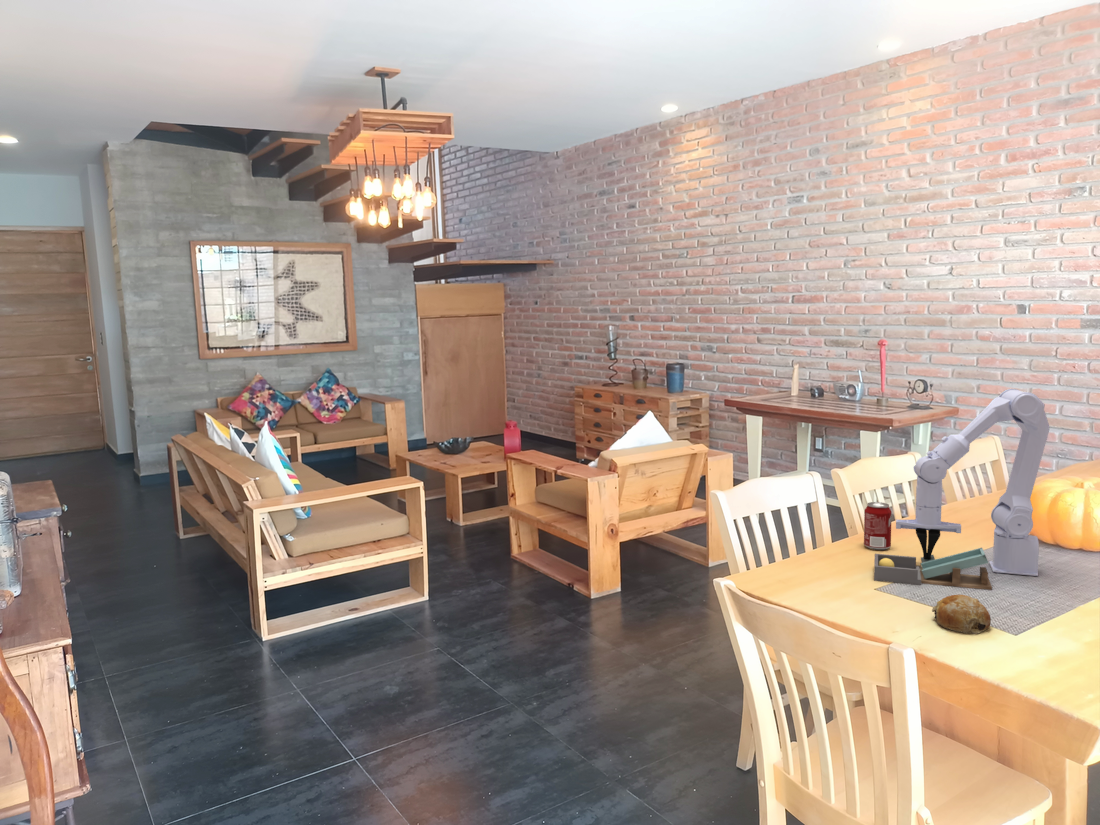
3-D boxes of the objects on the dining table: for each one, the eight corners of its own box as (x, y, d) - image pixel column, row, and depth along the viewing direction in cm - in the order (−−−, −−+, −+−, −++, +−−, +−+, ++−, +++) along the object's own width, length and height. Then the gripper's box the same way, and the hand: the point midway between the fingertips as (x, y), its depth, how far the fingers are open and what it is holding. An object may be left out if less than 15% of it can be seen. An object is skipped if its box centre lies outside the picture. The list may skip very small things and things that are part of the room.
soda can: (886, 552, 209) (888, 508, 207) (860, 548, 213) (861, 505, 211) (893, 546, 214) (894, 503, 212) (867, 542, 218) (868, 500, 216)
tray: (919, 571, 193) (919, 557, 193) (921, 585, 184) (921, 570, 183) (874, 567, 197) (874, 553, 197) (874, 580, 188) (874, 566, 187)
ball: (884, 573, 193) (897, 566, 192) (884, 577, 190) (897, 570, 189) (875, 560, 194) (888, 553, 192) (875, 565, 190) (888, 558, 189)
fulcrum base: (987, 578, 186) (988, 561, 186) (991, 589, 179) (992, 572, 179) (919, 572, 192) (920, 556, 192) (921, 583, 185) (921, 566, 184)
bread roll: (955, 652, 156) (972, 623, 152) (918, 615, 164) (932, 587, 160) (990, 642, 160) (1007, 614, 156) (951, 607, 168) (967, 579, 164)
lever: (981, 545, 193) (978, 537, 193) (988, 562, 180) (985, 554, 180) (921, 560, 199) (918, 553, 199) (924, 578, 185) (921, 570, 185)
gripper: (960, 503, 195) (958, 556, 197) (896, 499, 201) (894, 551, 202) (962, 510, 188) (960, 564, 190) (896, 506, 194) (895, 559, 196)
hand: (926, 558), depth 196 cm, fingers closed
